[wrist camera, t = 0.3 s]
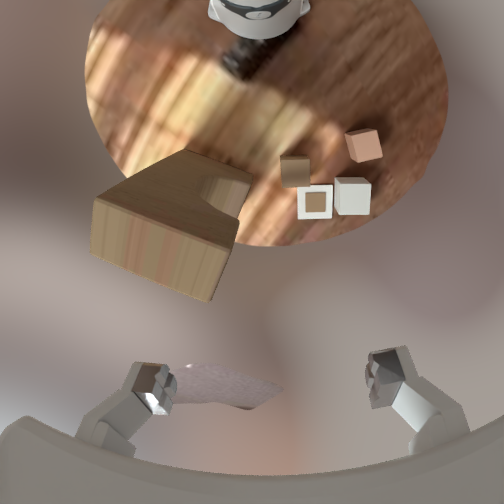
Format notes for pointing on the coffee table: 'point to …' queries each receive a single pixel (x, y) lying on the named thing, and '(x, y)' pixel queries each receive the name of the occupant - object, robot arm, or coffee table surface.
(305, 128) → the coffee table surface
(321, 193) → the card
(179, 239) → the decorative block
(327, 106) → the coffee table surface
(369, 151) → the terracotta cube
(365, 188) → the base block
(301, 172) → the walnut cube
